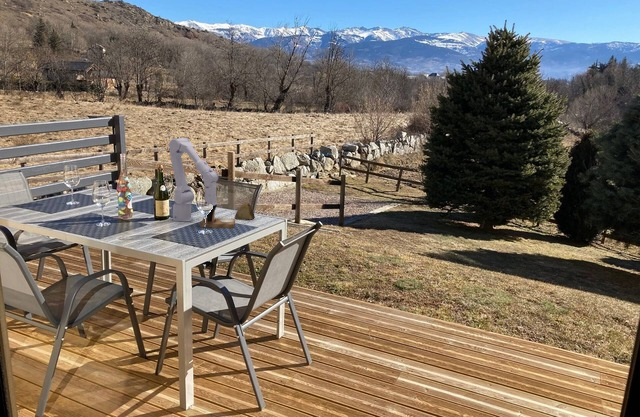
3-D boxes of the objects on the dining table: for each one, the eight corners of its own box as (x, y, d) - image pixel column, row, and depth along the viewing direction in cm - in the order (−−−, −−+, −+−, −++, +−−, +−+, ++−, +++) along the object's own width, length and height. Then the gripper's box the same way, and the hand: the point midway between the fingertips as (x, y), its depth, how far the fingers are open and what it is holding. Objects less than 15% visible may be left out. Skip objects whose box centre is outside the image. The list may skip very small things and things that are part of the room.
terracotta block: (206, 225, 249) (206, 212, 247) (207, 223, 253) (207, 210, 251) (213, 225, 249) (213, 212, 248) (214, 223, 253) (214, 211, 252)
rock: (229, 215, 264) (243, 215, 259) (234, 201, 267) (248, 202, 262) (240, 223, 272) (254, 224, 267) (245, 210, 275) (258, 211, 270)
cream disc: (219, 222, 248) (219, 221, 248) (220, 219, 255) (220, 218, 254) (232, 223, 248) (232, 222, 248) (233, 219, 255) (233, 218, 255)
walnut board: (200, 227, 245) (200, 223, 244) (203, 221, 256) (203, 218, 256) (233, 228, 247) (233, 224, 246) (235, 222, 258) (235, 218, 258)
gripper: (216, 197, 241) (216, 223, 244) (219, 192, 255) (219, 216, 258) (202, 197, 240) (202, 223, 243) (206, 191, 254) (206, 216, 257)
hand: (210, 219), depth 250 cm, fingers open, 7 cm apart
